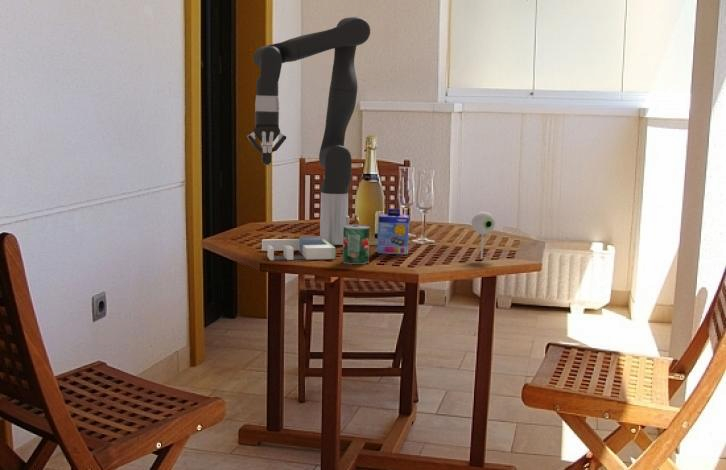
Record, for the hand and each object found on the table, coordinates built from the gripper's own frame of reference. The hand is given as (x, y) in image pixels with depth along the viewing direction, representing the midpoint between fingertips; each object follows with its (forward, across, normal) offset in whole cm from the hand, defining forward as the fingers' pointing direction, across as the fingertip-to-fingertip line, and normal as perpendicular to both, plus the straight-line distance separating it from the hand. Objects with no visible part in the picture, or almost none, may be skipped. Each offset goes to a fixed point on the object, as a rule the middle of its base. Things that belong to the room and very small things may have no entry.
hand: (266, 164), depth 296 cm
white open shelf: (+27, -8, +14) cm, 32 cm away
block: (+27, -12, +12) cm, 32 cm away
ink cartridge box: (+27, -39, +14) cm, 50 cm away
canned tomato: (+27, -23, +29) cm, 46 cm away
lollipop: (+27, -64, +28) cm, 75 cm away
